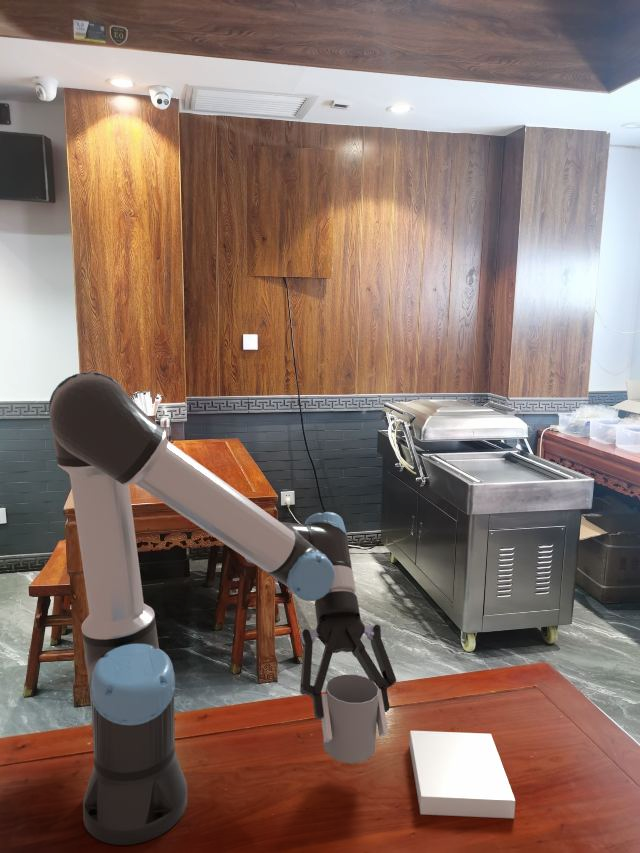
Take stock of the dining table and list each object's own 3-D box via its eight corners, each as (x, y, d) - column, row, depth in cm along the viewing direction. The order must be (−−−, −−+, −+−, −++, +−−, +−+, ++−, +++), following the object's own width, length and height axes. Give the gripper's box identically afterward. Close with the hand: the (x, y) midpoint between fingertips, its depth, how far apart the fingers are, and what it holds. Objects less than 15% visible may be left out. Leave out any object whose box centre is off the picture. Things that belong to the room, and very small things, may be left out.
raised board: (420, 814, 98) (421, 796, 97) (409, 746, 113) (410, 730, 113) (513, 818, 97) (515, 800, 97) (489, 749, 113) (490, 733, 112)
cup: (312, 742, 104) (315, 685, 103) (349, 724, 110) (352, 669, 108) (349, 770, 98) (352, 710, 97) (386, 749, 104) (389, 691, 102)
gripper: (386, 602, 119) (412, 735, 106) (273, 608, 114) (285, 749, 101) (398, 585, 113) (427, 725, 100) (279, 592, 108) (293, 739, 95)
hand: (356, 737), depth 100 cm, fingers closed on cup, 8 cm apart
